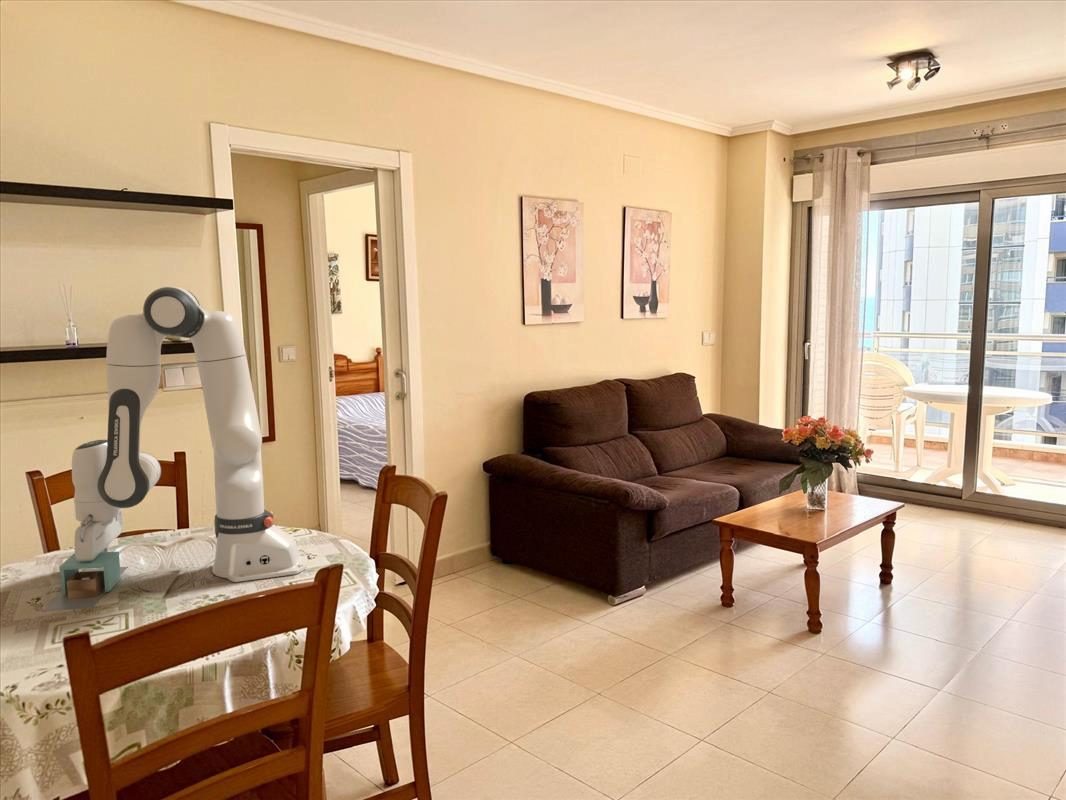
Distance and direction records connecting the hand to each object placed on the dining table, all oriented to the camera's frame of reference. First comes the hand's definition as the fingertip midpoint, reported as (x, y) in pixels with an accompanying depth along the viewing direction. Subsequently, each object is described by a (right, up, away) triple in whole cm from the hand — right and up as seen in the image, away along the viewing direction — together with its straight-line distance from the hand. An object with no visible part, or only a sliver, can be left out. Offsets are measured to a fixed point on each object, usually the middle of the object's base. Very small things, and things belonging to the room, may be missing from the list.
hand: (101, 565), depth 177 cm
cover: (+1, -3, -6) cm, 7 cm away
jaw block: (+2, -4, -9) cm, 10 cm away
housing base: (0, -5, -6) cm, 7 cm away
